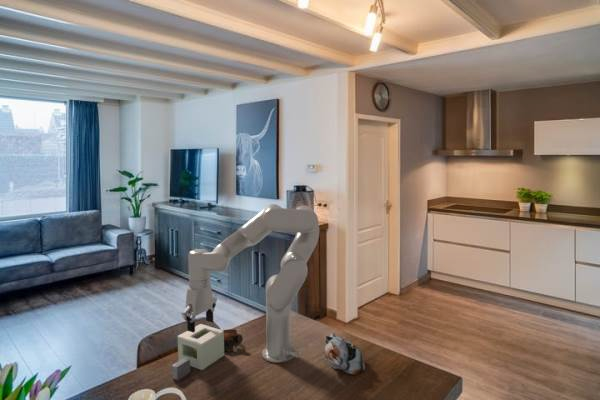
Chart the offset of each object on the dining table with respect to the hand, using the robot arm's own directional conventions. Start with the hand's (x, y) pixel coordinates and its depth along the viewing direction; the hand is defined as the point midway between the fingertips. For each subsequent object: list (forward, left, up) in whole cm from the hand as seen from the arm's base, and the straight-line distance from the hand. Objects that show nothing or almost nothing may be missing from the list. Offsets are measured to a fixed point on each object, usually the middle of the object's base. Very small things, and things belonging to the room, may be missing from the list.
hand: (200, 326), depth 145 cm
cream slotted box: (0, 0, -13) cm, 13 cm away
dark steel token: (-2, +12, -13) cm, 18 cm away
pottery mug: (-4, -12, -13) cm, 18 cm away
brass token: (0, 0, -12) cm, 12 cm away
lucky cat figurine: (-50, -21, -13) cm, 56 cm away
